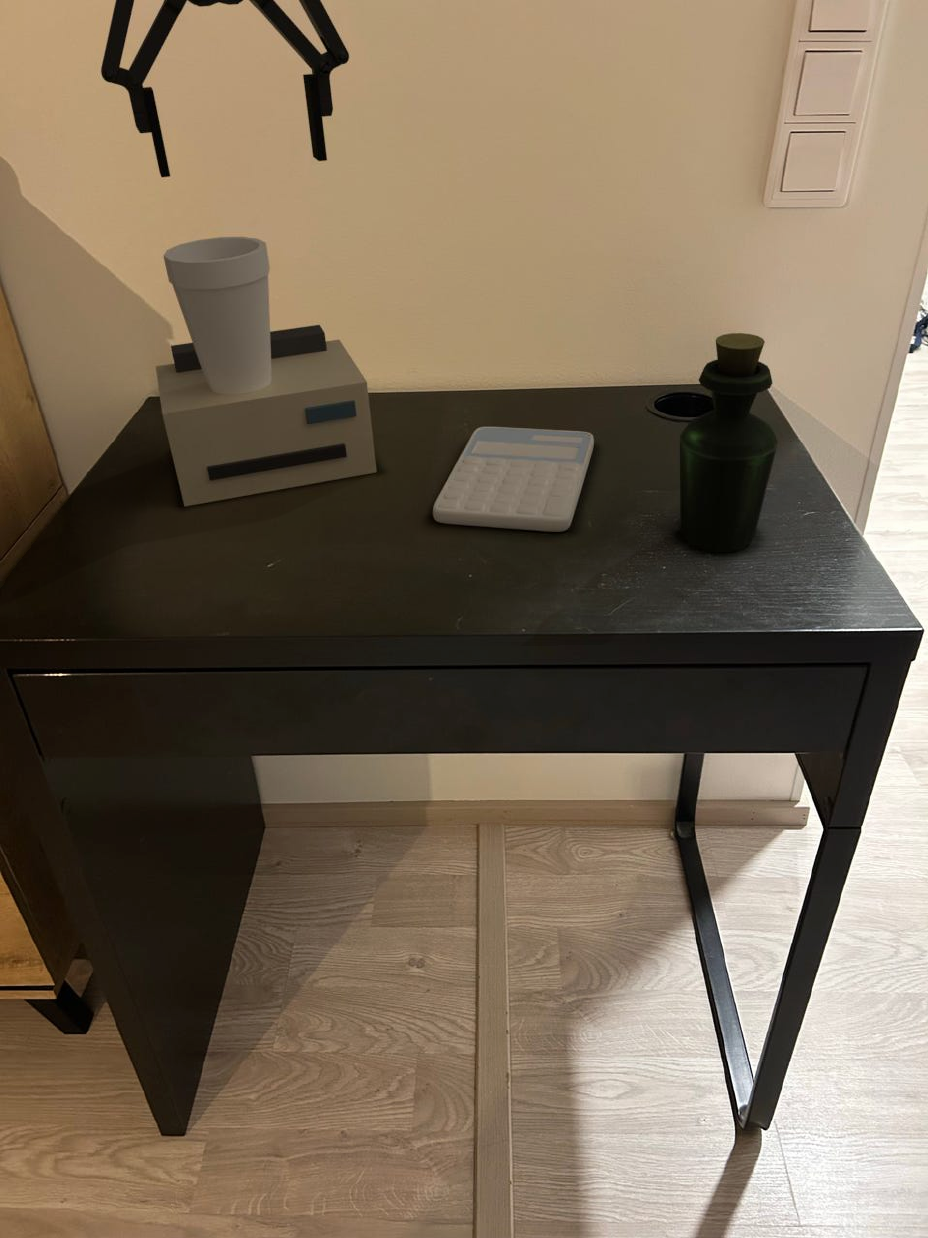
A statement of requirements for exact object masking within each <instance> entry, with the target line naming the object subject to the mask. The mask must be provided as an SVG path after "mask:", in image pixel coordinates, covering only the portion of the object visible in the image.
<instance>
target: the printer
mask: <svg viewBox="0 0 928 1238" xmlns="http://www.w3.org/2000/svg"><path fill="white" fill-rule="evenodd" d="M270 343H271V370H272V372H271V377H272V379H271V383H270V384H269V385H267V386H266V387H265V388H262V389H260V390H257V391H254V392H250V393H244V394H238V395H224V394H219V393H215V392H213V391H212V390H210V389H209V387H208V383H207V382H206V379H205V376H204V373H203V371H202V368H201V365H200V362H199V359H198V356H197V353H196V351H195V348H194V345H193V342H186V343H180V344H173V345H170V351H171V355H172V359H173V363H168V364H162V365H161V364H160V365H156V366H155V371H156V378H157V387H158V394H159V401H160V408H161V415H162V420H163V424H164V426H165V431H166V436H167V439H168V440H167V441H168V444H169V448H170V452H171V457H172V460H173V464H174V469H175V473H176V477H177V482H178V485H179V489H180V493H181V498H182V503H183V506H184V507H190V506H196V505H200V504H206V503H207V504H208V503H213V502H218V501H224V500H229V499H236V498H241V497H245V496H253V495H257V494H263V493H268V492H274V491H280V490H284V489H285V490H286V489H291V488H296V487H304V486H309V485H313V484H319V483H324V482H330V481H335V480H342V479H347V478H353V477H358V476H364V475H368V474H369V475H370V474H376V473H377V461H376V453H375V443H374V434H373V425H372V417H371V408H370V398H369V397H370V396H369V390H368V389H369V387H368V381H367V380H366V378H365V377H364V375H363V374H362V371H360V369H359V368H358V366H357V364H356V362H355V361H354V360H353V358H352V357H351V355H350V353H349V352H348V350H347V349H346V347H345V346H344V345H343V343H342V341H341V340H340V339H334V340H326V334H325V331H324V330H323V328H322V326H321V325H320V324H314V325H308V326H307V325H306V326H301V327H293V328H287V329H277V330H273V331H272V330H270Z"/></svg>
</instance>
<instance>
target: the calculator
mask: <svg viewBox="0 0 928 1238" xmlns="http://www.w3.org/2000/svg"><path fill="white" fill-rule="evenodd" d="M594 438H595V437H594V435H593V434H592V433H591V432H588V431H579V430H565V429H564V430H561V429H543V428H542V429H541V428H527V427H525V428H523V427H508V426H507V427H506V426H505V427H504V426H479V427H477V428H476V429H475V430H474V431H473V433H472V434H471V436H470V438H469V439H468V441H467V443H466V444H465V446H464V448H463V450H462V452H461V454H460V455H459V458H458V460H457V461H456V463H455V465H454V466H453V469H452V471H451V472H450V474H449V476H448V477H447V480H446V482H445V483H444V484H443V487H442V489H441V490H440V492H439V494H438V496H437V498H436V500H435V502H434V504H433V507H432V517H433V519H434V521H436V522H437V523H440V524H447V525H456V526H457V525H458V526H472V527H485V528H498V529H511V530H525V531H536V532H537V531H538V532H555V533H560V532H565V531H567V530H568V529H569V528H570V527H571V525H572V521H573V519H574V515H575V512H576V509H577V505H578V502H579V498H580V495H581V491H582V488H583V485H584V481H585V478H586V474H587V471H588V468H589V465H590V461H591V457H592V455H593V451H594V446H595V439H594Z"/></svg>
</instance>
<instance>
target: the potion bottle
mask: <svg viewBox="0 0 928 1238" xmlns="http://www.w3.org/2000/svg"><path fill="white" fill-rule="evenodd" d="M764 346H765V340H764V338H763V337H762V336H759V335H757V334H756V335H755V334H752V333H744V332H738V333H737V332H733V333H732V332H730V333H726V334H722V335H719V336H717V337H716V338H715V347H716V348H715V349H716V357H717V359H713V360H712V361H709V362H706V364H705V365H704V367H703V368H702V371H701V373H700V375H699V378H698V381H699V384H700V386H702V387H703V388H704V389H706V390H708V391H710V392H711V393H710V394H711V399H712V405H713V410H711V411H709V412H706V413H704V414H701V415H698V416H697V417H694V418H693V419H692V418H691V420H690V421H689V422H688V424H687V425H686V427H685V428H684V429H683V431H682V433H681V434H680V435H679V504H680V505H679V513H680V514H679V517H680V519H679V521H680V522H679V523H680V525H679V527H680V528H679V529H680V533H681V537H682V538H683V539H684V540H685V541H686V542H687V543H688V544H689V545H691V546H692V547H694V548H696V549H698V550H701V551H705V552H706V551H707V552H711V553H733V552H736V551H740V550H742V549H744V548H745V547H747V546H749V545H750V544H751V543H753V541H754V538H755V536H756V533H757V528H758V525H759V520H760V516H761V512H762V508H763V504H764V500H765V496H766V492H767V488H768V484H769V480H770V476H771V472H772V468H773V464H774V460H775V457H776V452H777V448H778V443H779V441H778V439H777V436H776V434H775V432H774V429H773V427H772V426H771V424H770V423H768V422H767V421H765V420H764V419H762V418H760V417H758V416H757V415H755V414H753V413H752V412H751V409H752V407H753V404H754V402H755V399H756V397H757V394H759V393H764V392H765V391H767V390H769V389H771V387H772V385H773V379H772V374H771V370H770V368H769V366H768V365H767V364H765V363H764V362H761V361H760V357H761V354H762V351H763V348H764Z"/></svg>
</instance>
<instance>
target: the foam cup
mask: <svg viewBox="0 0 928 1238" xmlns="http://www.w3.org/2000/svg"><path fill="white" fill-rule="evenodd" d="M268 254H269V253H268V247H267V242H265V241H263V240H261V239H259V238H256V237H248V236H247V237H246V236H220V237H211V238H204V239H203V238H202V239H197V240H192V241H188V242H184V243H180V244H178V245H175V246H173V247H170V248H168V249H167V250H166V251H165V252H164V254H163V259H164V264H165V265H164V266H165V270H166V274H167V279H168V282H169V283H170V284H171V285H172V288H173V291H174V293H175V296H176V299H177V302H178V305H179V308H180V311H181V313H182V317H183V319H184V322H185V324H186V325H185V326H186V328H187V332H188V333H189V336H190V339H191V343H193V345H194V348H195V351H196V353H197V356H198V359H199V362H200V365H201V368H202V371H203V373H204V376H205V379H206V382H207V383H208V387H209V389H210V390H212V391H213V392H215V393H219V394H224V395H238V394H244V393H250V392H254V391H257V390H260V389H262V388H265V387H266V386H267V385H269V384H270V383H271V379H272V377H271V372H272V370H271V343H270V332H271V318H270V292H269V291H270V289H269V273H270V269H271V265H270V260H269V255H268Z"/></svg>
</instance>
